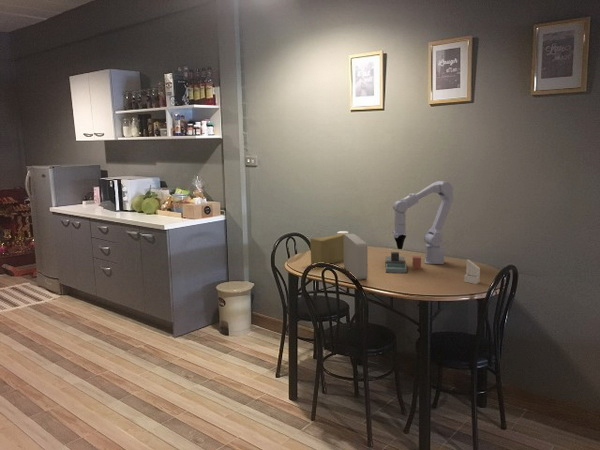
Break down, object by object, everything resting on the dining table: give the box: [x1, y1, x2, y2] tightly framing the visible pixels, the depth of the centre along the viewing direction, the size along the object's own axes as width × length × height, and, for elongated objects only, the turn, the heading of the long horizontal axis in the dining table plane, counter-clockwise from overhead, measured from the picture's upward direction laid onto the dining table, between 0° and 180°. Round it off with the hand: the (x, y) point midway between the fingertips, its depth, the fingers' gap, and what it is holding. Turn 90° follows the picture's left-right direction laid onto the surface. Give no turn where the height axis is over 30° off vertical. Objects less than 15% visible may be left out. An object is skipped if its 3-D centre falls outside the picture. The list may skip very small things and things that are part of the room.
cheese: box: [309, 234, 344, 265], centre depth 277 cm, size 22×10×15 cm, turn 126°
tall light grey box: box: [343, 233, 369, 281], centre depth 254 cm, size 29×8×18 cm, turn 8°
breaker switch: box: [390, 251, 400, 261], centre depth 266 cm, size 4×3×4 cm
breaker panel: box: [384, 256, 406, 268], centre depth 270 cm, size 10×11×4 cm
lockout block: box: [412, 255, 422, 270], centre depth 261 cm, size 4×4×6 cm
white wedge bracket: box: [463, 258, 481, 285], centre depth 235 cm, size 4×10×9 cm
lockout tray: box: [385, 263, 408, 274], centre depth 259 cm, size 10×10×2 cm
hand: (400, 248), depth 268 cm, fingers closed
